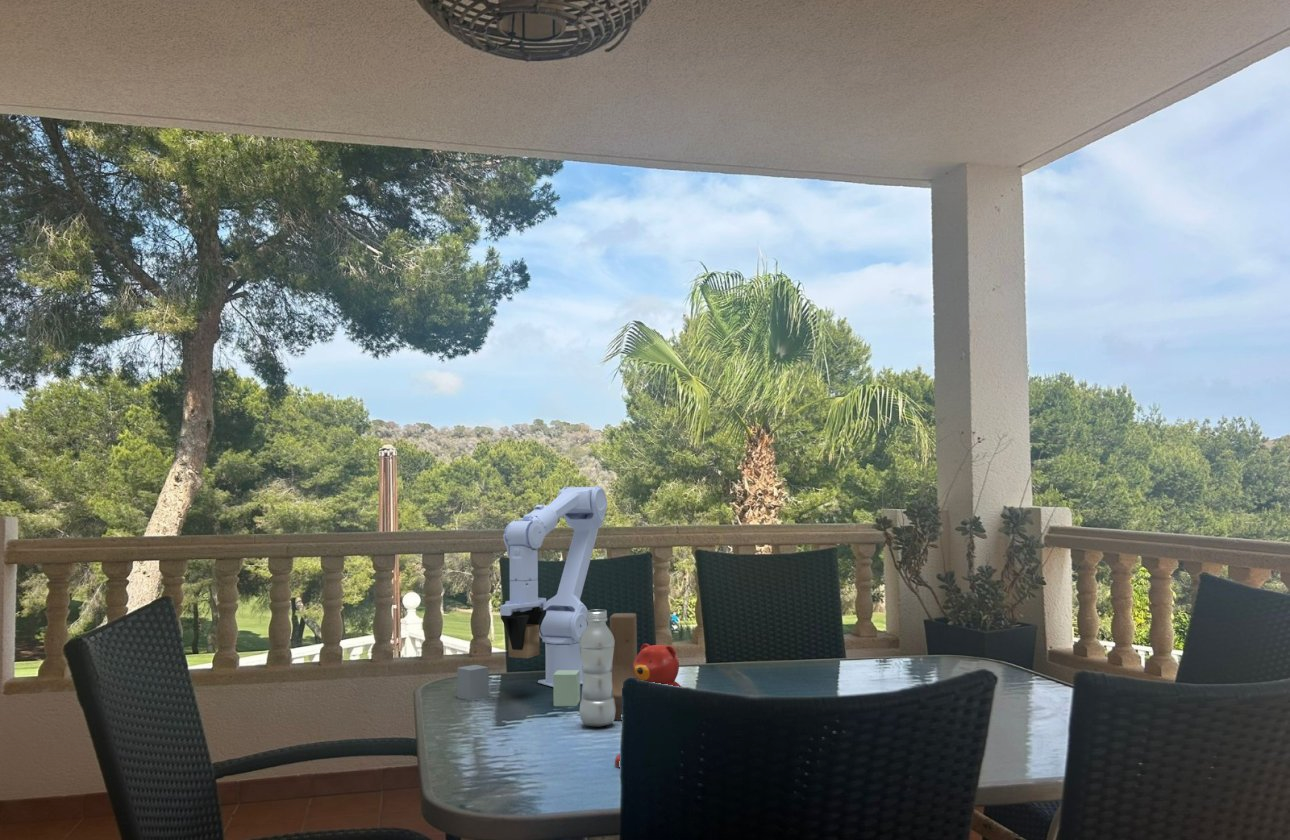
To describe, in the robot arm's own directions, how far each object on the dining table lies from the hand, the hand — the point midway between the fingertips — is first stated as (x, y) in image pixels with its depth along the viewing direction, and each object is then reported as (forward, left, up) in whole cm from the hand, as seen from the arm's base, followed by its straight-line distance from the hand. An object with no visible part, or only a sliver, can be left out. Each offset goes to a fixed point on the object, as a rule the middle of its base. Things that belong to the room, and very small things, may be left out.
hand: (524, 647), depth 189 cm
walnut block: (0, 0, -2) cm, 2 cm away
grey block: (+8, -7, -10) cm, 15 cm away
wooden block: (-7, +25, -10) cm, 28 cm away
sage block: (-4, +10, -10) cm, 15 cm away
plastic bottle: (+1, +29, -10) cm, 31 cm away
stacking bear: (+7, +55, -10) cm, 56 cm away
